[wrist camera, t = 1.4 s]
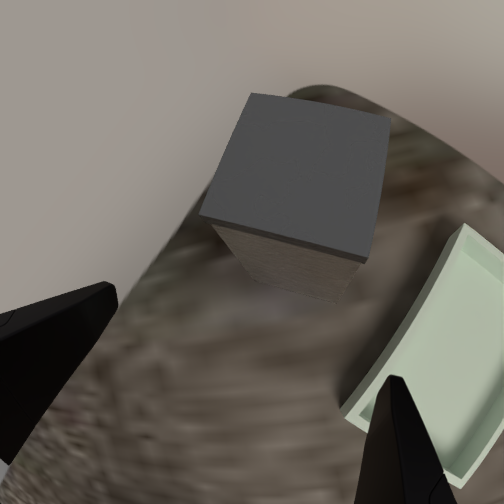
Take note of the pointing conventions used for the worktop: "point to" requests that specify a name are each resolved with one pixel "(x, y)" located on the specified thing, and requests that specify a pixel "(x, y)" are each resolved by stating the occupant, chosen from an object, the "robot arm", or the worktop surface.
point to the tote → (450, 356)
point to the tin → (300, 192)
